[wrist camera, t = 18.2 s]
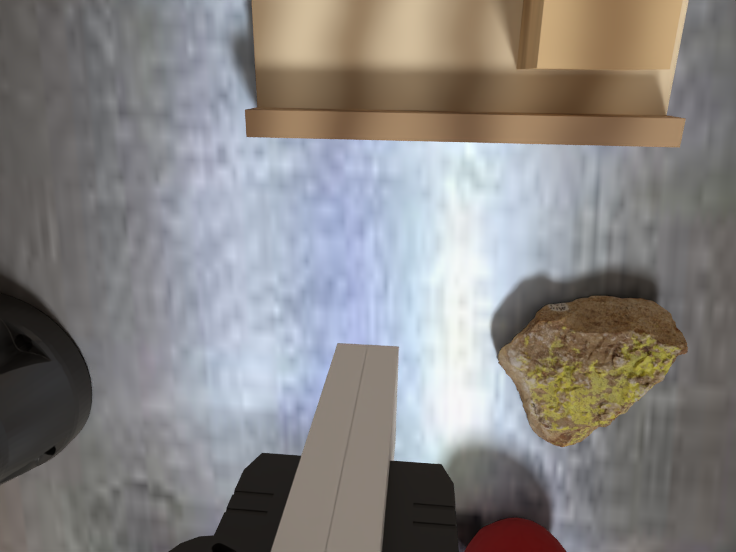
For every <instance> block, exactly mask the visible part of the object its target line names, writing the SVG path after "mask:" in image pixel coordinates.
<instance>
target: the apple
mask: <svg viewBox="0 0 736 552" xmlns="http://www.w3.org/2000/svg"><path fill="white" fill-rule="evenodd" d="M465 552H566V550H565V549H564V548H563V547H562V545H561V544H560V543H559V541H558V540H557V539H556V538H555V537H554V536H553V535H552V534H551V533H550V532H549V531H547V530H546V529H545V528H544V527H543V526H541V525H539V524H537V523H535V522H534V521H531V520H527V519H522V518H517V517H516V518H506V519H503V520H499V521H496V522H494V523H492V524H489V525H487V526H484V527H483V528H482V529H480V530H479V531H478V533H477V534H476V535H475V536H474V538H473V539H472V540H471V542H470V543H469V544H468V546H467V548H466V550H465Z"/></svg>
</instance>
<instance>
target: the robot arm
mask: <svg viewBox="0 0 736 552" xmlns="http://www.w3.org/2000/svg"><path fill="white" fill-rule="evenodd" d="M398 352H399V347H397V346H379V345H361V344H343V343H338V344H337V347H336V350H335V353H334V356H333V359H332V362H331V365H330V369H329V372H328V375H327V378H326V381H325V384H324V387H323V390H322V393H321V397H320V400H319V403H318V406H317V409H316V412H315V415H314V418H313V422H312V425H311V428H310V431H309V434H308V437H307V440H306V443H305V446H304V450H303V453H302V456H297V455H284V454H270V453H262V454H260V455H259V456H258V457H257V458H256V459H255V460H254V461H253V462H252V463H251V464H250V465H249V466H248V467H246V468H245V469H244V471H243V473H242V475H241V477H240V480H239V482H238V484H237V486H236V488H235V491H234V495H232V497H231V499H230V501H229V504H228V506H227V510H226V512H224V515H223V517H222V519H221V521H220V523H219V526H218V528H217V530H216V532H215V534H214V536H200V537H197V538H194V539H191V540H189V541H186V542H183V543H180V544H179V545H177V546H176V547H175V548H173V549H172V550H170V551H169V552H459V550H458V536H457V522H456V511H455V495H454V484H453V482H452V480H451V479H450V477H449V476H448V474H447V472H446V471H445V469H444V468H443V466H442V464H430V463H416V462H403V461H394V451H395V436H396V408H397V380H398ZM91 404H92V387H91V381H90V377H89V373H88V370H87V367H86V365H85V363H84V360H83V358H82V356H81V355H80V353H79V351H78V349H77V348H76V346H75V345H74V343H73V342H72V341H71V339H70V338H69V337H68V336H67V335H66V333H65V332H64V331H63V330H62V329H61V328H60V327H59V326H58V325H57V324H56V323H55V322H53V321H52V320H51V319H50V318H49V317H47V316H46V315H45V314H43V313H42V312H40V311H39V310H37V309H36V308H34V307H32V306H31V305H29V304H27V303H25V302H23V301H21V300H18V299H16V298H13V297H11V296H7V295H4V294H0V485H1V484H3V483H5V482H7V481H9V480H11V479H13V478H15V477H17V476H19V475H21V474H23V473H25V472H27V471H29V470H31V469H33V468H35V467H37V466H39V465H41V464H43V463H45V462H47V461H49V460H50V459H52V458H53V457H55V456H56V455H57V454H59V453H60V452H61V451H62V450H63V449H64V448H65V447H66V446H67V445H68V444H69V443H70V442H71V441H72V440H73V439H74V438H75V437H76V436H77V435H78V433H79V432H80V431H81V430H82V428H83V427H84V425H85V423H86V421H87V419H88V417H89V414H90V410H91Z"/></svg>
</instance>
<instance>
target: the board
mask: <svg viewBox="0 0 736 552" xmlns="http://www.w3.org/2000/svg"><path fill="white" fill-rule="evenodd" d="M687 6H688V0H683V2H682V7H681V13H680V18H679V23H678V29H677V34H676V39H675V45H674V50H673V55H672V61H671V66H670V69H665V70H526V69H517V60H518V50H519V40H520V29H521V19H522V9H523V0H252V17H253V36H254V54H255V72H256V90H257V108H252V109H247V110H245V119H246V135H247V137H271V138H313V139H355V140H396V141H438V142H479V143H521V144H563V145H604V146H646V147H680V144H681V139H682V134H683V129H684V124H685V118H679V117H673V116H667V115H666V114H667V109H668V103H669V98H670V93H671V88H672V83H673V78H674V73H675V67H676V62H677V57H678V52H679V47H680V42H681V36H682V31H683V26H684V21H685V16H686V11H687Z"/></svg>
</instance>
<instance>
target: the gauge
mask: <svg viewBox="0 0 736 552" xmlns="http://www.w3.org/2000/svg"><path fill="white" fill-rule="evenodd" d="M682 2H683V0H523V9H522V19H521V29H520V40H519V50H518V60H517V69H526V70H665V69H670V66H671V61H672V55H673V50H674V45H675V39H676V34H677V29H678V23H679V18H680V13H681V7H682Z"/></svg>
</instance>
